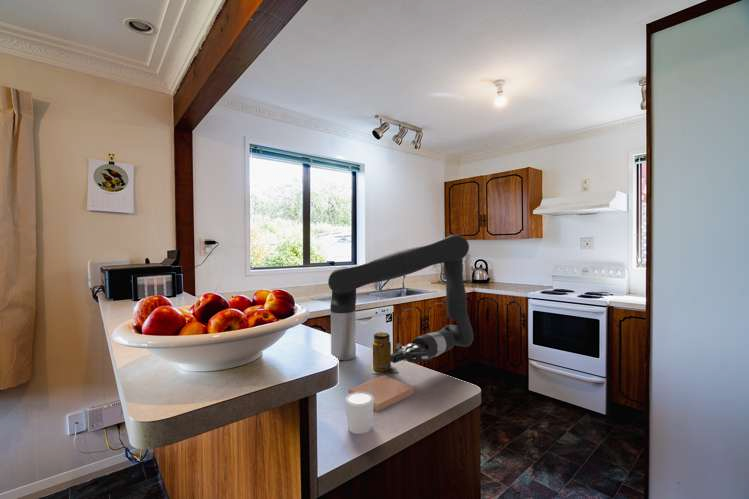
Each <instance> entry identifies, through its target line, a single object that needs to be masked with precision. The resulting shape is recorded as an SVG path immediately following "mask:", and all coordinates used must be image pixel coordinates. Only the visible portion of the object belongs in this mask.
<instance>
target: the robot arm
mask: <svg viewBox="0 0 749 499" xmlns="http://www.w3.org/2000/svg"><path fill="white" fill-rule="evenodd" d="M469 249H470V245H469V242H468V240H467V238H465V237H464V236H462V235H459V234H451V235H449V236H446V237H445V238H443V239H440V240H437V241H435V242H433V243H430V244H426V245H421V246H415V247H414V246H413V247H409V248H404V249H401V250H396V251H393V252H390V253H387V254H383V255H381V256H378V257H377V258H374V259H372V260H371V261H368V262H366V263H363V264H360V265H356V266H351V267H350V266H349V267H348V266H340V267H338V268H336V269H335V270H332V272H331V274H330V275H329V277H328V279H327V280H328V282H327V284H328V287H329V288H330V290H331V300H330V304H329V305H330V355H331V354H332V355H333V356H335V357H336V358H338V359H340V360H344V361H350V360H353V359H354V358H356V357H357V354H356V353H357V346H356V345H357V344H356V343H357V341H356V340H357V335H356V331H357V330H356V325H357V323H356V319H357V318H356V307H357V305H356V304H357V289H358V288H361V287H364V286H367V285H370V284H374V283H375V284H376V283H381V282H385V281H390V280H394V279H398V278H401V277H405V276H408V275H411V274H413V273H417V272H419V271H421V270H424V269H427V268H428V267H432V266H434V265H438V264H443V266H444V267H443V269H444V273H445V274H444V275H445V285H446V286H445V291H446V292H445V293H446V294H445V296H446V316H447V317H448V318H449V319H451V320H453V321H455V322H456V324H457V325H456V324H448V325H445V326H444V327H442V329H440V330H437V331H435V332H428V333H425V334H422V335H419V336H416V337H415V338H414V339H413V340H412V341H411V342H410V343H407V344H405V345H402V344H401V343H400V342H398V343H396V345H395V349H394V350H395V352H394V353H391V355H390V362H391V363H392V364H396V363H399V362H401V361H403V362H406V361H407V362H408V363H418V362H419V363H421V362H422V363H423V362H424V363H426V362H428V361H429V360H430V359H432V358H435V357H438V356H440V355H441V354H443V353H445V352H448V351H450V350H452V348H454V346H458V347H463V348H468V347H470V346H471V345H472V343H473V341H474V338H475V337H474V331H473V328H472V325H471V321H470V318H469V315H468V301H467V294H466V292H467V291H466V288H465V283H464V277H463V276H464V275H463V260H464V258H465V257H466V256H467V255H468V253H469ZM340 360H339V361H340Z"/></svg>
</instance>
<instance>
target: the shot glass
mask: <svg viewBox="0 0 749 499" xmlns="http://www.w3.org/2000/svg"><path fill="white" fill-rule="evenodd" d="M344 401H345V409H346V410H345V412H346V420H347V421H346V422H347V429H348V430H349V432H350V433H353V434H356V435H360V434H361V435H362V434H366V433H369V432H370V431H371V430H372V428H373V419H374V418H373V416H374V409H373V407H374V396H373V395H371V394H369V393H367V392H354V393H351V394H349V393H348V394H347V395H346V396H345V398H344Z"/></svg>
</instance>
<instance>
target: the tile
mask: <svg viewBox="0 0 749 499" xmlns="http://www.w3.org/2000/svg"><path fill="white" fill-rule="evenodd" d="M414 389H415V388H414V387H413V386H410V385H408V384H406V383H404V382H402V381H399V380H396V379H394V378H392V377H390V376H387V375H385V374H383V375H381V376H378V377H375V378H373V379H370V380H367V381H365V382H363V383H360V384H357V385H355V386H352V387H349V388H348V395H349V394H351V393H354V392H367V393H369V394H371V395H373V396H374V407H373V410H375V411H377V412H379V411H382V410H383V409H385V408H387V407H389V406H391V405H393V404H395V403H397V402H399V401H402V400H404V399H405V398H408V397H410V396H411V395H414V392H415V391H414Z"/></svg>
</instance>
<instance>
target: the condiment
mask: <svg viewBox="0 0 749 499" xmlns="http://www.w3.org/2000/svg"><path fill="white" fill-rule="evenodd" d="M391 346H392V344H391V341H390V334H389V333H388V332H376V333H374V335H373V341H372V364H371V365H370V366H371V371H372V374H373V375H375V374H376V375H377V374H378V375H379V374H388V373H389V374H391V373H392V374H393V373H399V370H398V368H397V365H396V363H392V362H390V355H391V354H392V353H391V352H392V351H391V350H392V347H391Z"/></svg>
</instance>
